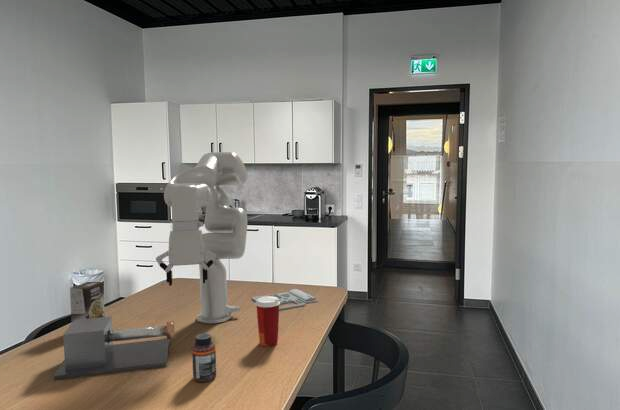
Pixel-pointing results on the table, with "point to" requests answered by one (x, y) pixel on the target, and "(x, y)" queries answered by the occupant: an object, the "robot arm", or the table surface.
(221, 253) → the robot arm
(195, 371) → the supplement bottle
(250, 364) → the table surface
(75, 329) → the grey fixture block
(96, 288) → the coffee box
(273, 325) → the paper cup
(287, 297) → the office telephone
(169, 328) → the shaft
